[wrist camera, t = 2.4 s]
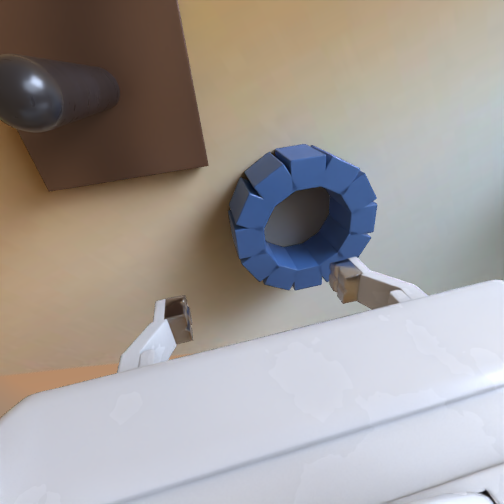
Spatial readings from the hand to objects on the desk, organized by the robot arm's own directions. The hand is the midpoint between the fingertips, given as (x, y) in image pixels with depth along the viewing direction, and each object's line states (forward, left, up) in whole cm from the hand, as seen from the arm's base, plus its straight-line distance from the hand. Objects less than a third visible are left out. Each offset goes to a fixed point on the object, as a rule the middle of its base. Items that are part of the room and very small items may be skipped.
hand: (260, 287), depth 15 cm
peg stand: (+6, -10, -8) cm, 15 cm away
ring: (-5, 0, -8) cm, 9 cm away
